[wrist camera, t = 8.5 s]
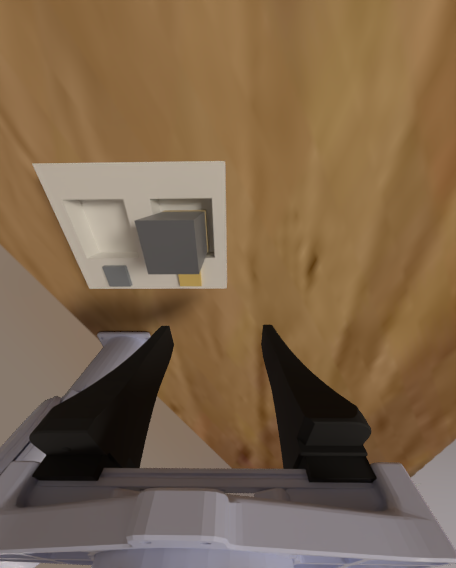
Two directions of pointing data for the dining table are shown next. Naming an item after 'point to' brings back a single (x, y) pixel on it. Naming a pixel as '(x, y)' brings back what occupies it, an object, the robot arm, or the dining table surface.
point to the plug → (174, 241)
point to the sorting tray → (135, 217)
